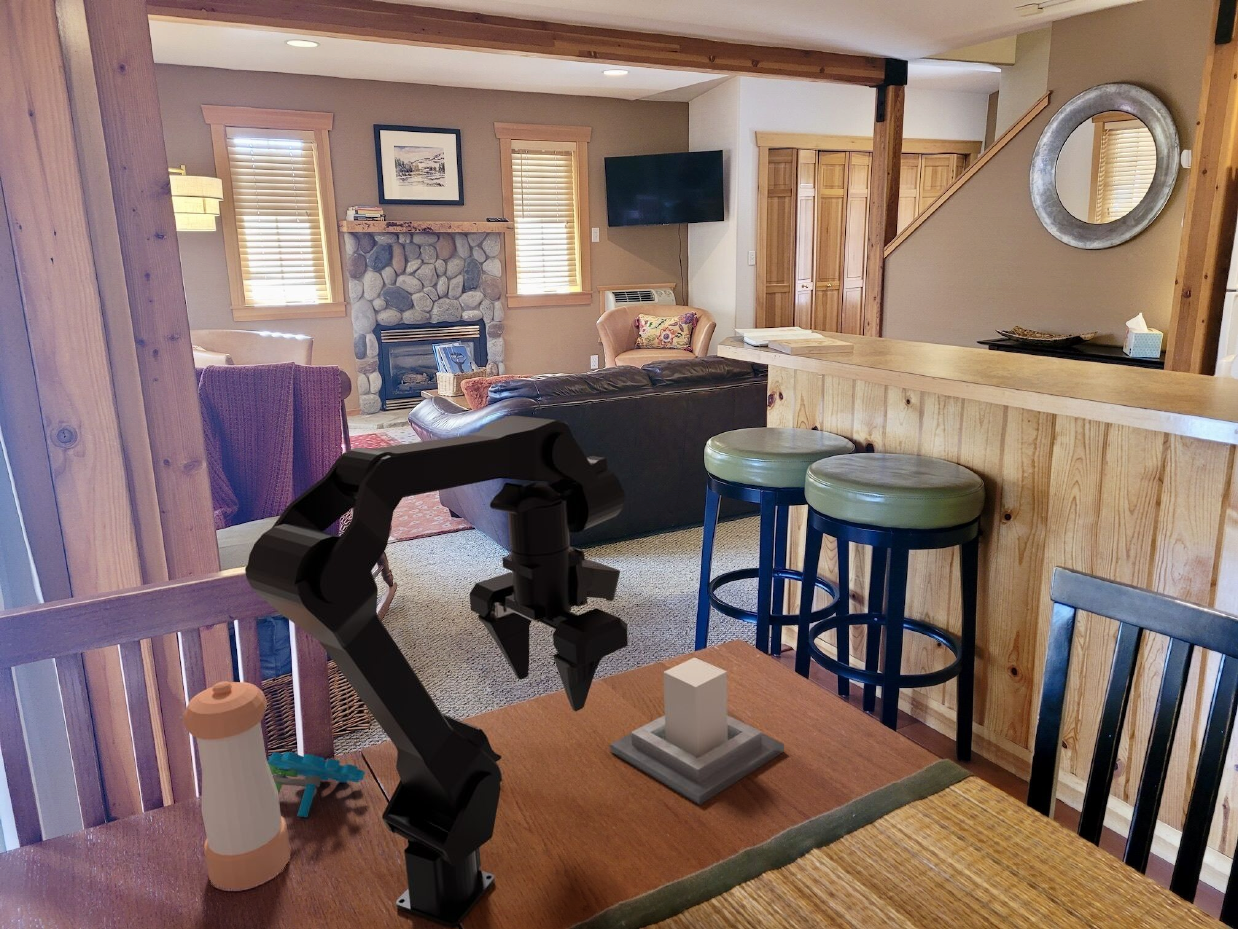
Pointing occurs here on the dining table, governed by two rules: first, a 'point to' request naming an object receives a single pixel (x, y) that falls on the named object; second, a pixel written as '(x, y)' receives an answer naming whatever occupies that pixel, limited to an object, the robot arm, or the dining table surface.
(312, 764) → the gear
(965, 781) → the dining table surface
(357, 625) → the robot arm
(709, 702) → the square block
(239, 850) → the pepper shaker
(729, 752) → the locating plate
